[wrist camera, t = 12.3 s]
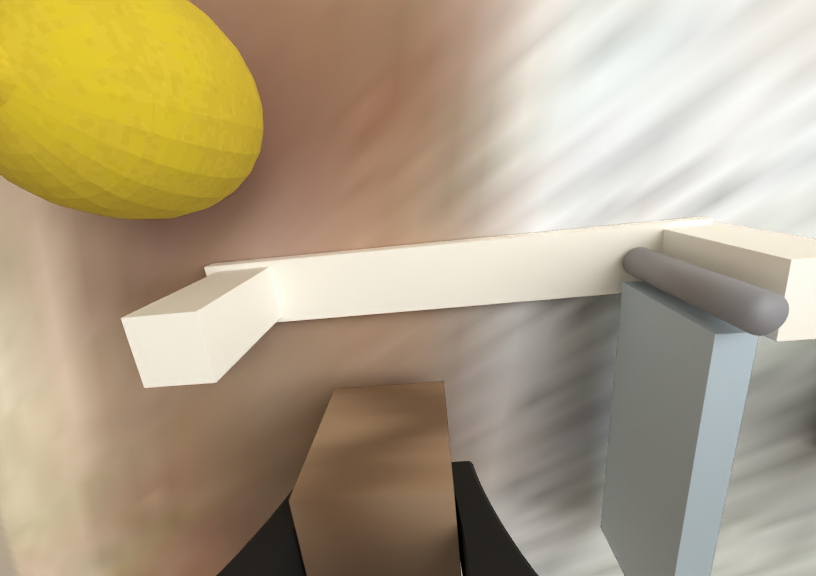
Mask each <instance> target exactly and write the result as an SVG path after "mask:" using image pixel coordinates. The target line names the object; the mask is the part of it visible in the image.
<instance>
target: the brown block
mask: <svg viewBox="0 0 816 576" xmlns="http://www.w3.org/2000/svg"><path fill="white" fill-rule="evenodd" d="M289 504H290V508H291V512H292V516H293V521H294V525H295V529H296V533H297V537H298V541H299V545H300V549H301V554H302V558H303V562H304V566H305V570H306V574H307V576H461V566H460V554H459V543H458V531H457V520H456V508H455V497H454V486H453V475H452V464H451V453H450V443H449V432H448V421H447V410H446V400H445V389H444V381H438V382H424V383H410V384H396V385H382V386H368V387H354V388H339V389H334V391H333V394H332V396H331V399H330V401H329V404H328V406H327V409H326V411H325V413H324V416H323V418H322V421H321V423H320V426H319V428H318V430H317V433H316V435H315V438H314V440H313V443H312V445H311V448H310V450H309V452H308V455H307V457H306V460H305V462H304V465H303V467H302V469H301V472H300V474H299V477H298V479H297V482H296V484H295V486H294V489H293V491H292V494H291V496H290V499H289Z"/></svg>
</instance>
